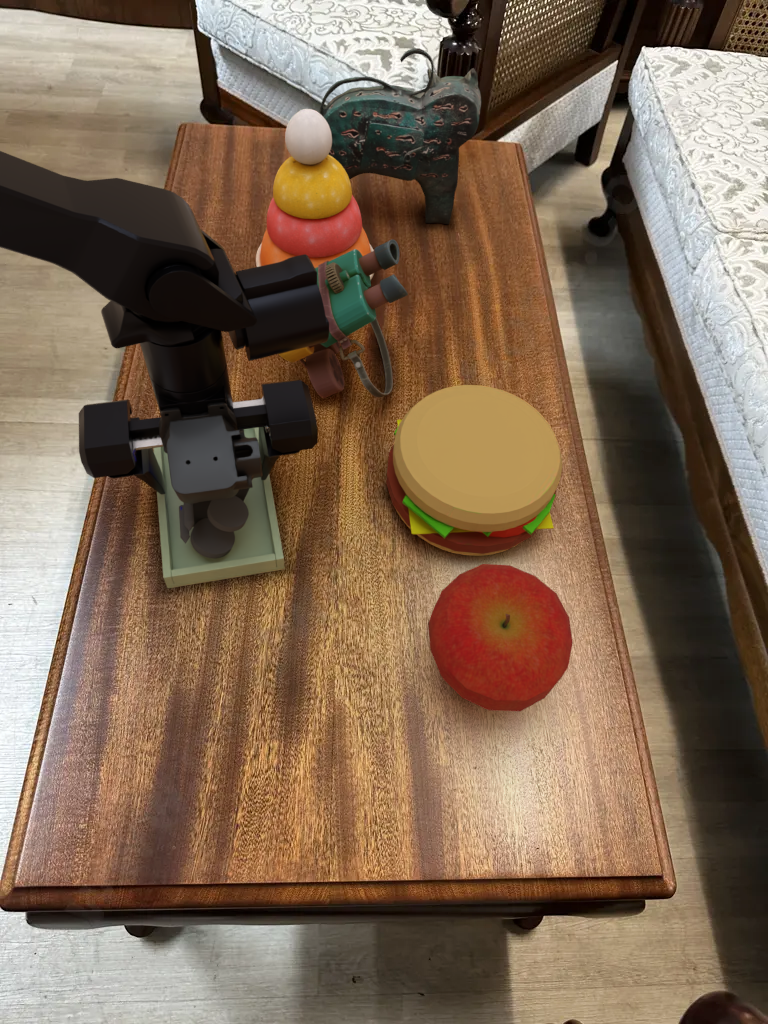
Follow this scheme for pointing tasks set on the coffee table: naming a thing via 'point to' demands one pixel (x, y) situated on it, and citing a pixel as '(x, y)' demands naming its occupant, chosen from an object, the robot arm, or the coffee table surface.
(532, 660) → the apple
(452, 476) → the hamburger
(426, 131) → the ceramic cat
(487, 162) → the coffee table surface
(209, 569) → the tray
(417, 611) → the coffee table surface
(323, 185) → the stacking toy
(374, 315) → the binoculars
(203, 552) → the character figurine
